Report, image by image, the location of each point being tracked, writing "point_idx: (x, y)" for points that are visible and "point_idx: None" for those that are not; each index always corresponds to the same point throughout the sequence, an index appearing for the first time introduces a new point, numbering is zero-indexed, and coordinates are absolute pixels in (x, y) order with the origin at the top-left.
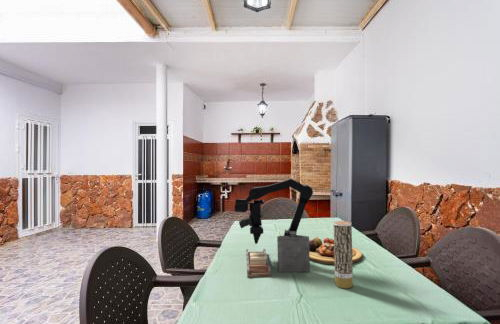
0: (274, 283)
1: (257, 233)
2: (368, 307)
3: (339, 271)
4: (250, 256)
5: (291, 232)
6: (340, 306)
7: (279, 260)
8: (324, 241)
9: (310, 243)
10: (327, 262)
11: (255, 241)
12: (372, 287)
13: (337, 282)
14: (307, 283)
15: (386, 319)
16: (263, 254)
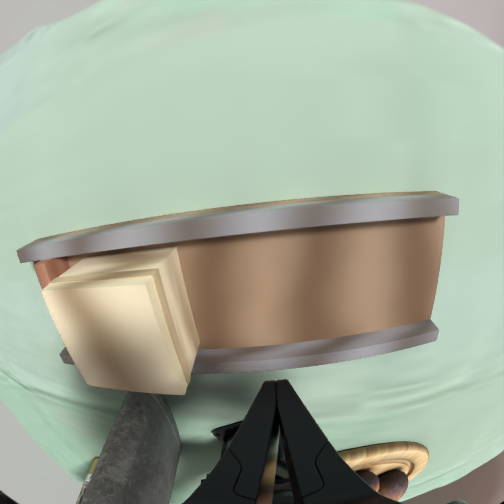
0: (38, 345)
1: (10, 501)
2: (54, 449)
3: (83, 484)
4: (66, 290)
5: None
6: (32, 423)
7: (113, 425)
8: None
9: None
10: None
11: (253, 410)
12: None
13: (94, 464)
14: (84, 422)
15: (39, 445)
16: (139, 384)
